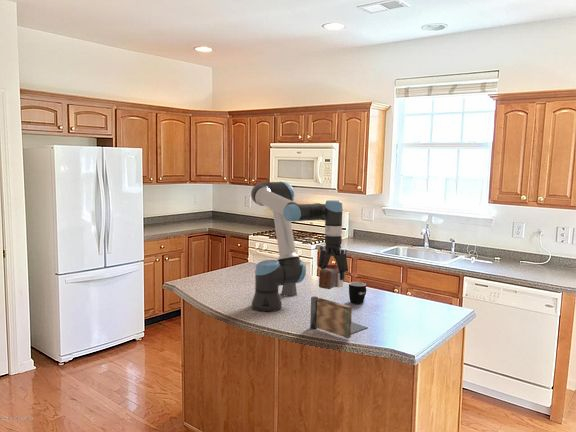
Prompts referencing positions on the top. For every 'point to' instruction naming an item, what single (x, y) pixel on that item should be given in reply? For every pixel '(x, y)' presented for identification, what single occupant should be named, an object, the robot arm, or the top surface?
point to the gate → (334, 317)
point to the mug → (357, 292)
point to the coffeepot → (289, 290)
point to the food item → (329, 277)
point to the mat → (356, 327)
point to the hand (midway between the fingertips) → (332, 285)
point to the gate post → (313, 312)
